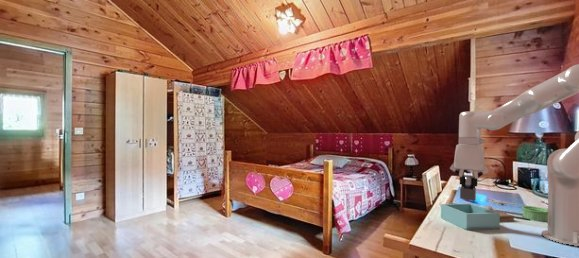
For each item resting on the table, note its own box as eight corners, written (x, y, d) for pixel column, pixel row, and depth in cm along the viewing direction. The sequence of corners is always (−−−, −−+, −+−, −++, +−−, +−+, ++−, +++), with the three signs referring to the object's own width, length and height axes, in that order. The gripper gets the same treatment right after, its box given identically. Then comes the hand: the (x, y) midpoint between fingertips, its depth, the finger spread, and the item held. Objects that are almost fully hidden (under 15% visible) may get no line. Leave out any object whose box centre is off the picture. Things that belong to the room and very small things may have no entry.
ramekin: (517, 217, 120) (517, 207, 120) (529, 214, 123) (529, 205, 123) (542, 223, 112) (543, 212, 112) (554, 220, 115) (554, 210, 115)
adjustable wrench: (553, 212, 129) (553, 209, 129) (552, 215, 125) (552, 211, 125) (489, 201, 148) (489, 198, 147) (486, 203, 143) (486, 200, 143)
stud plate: (513, 220, 114) (513, 209, 114) (488, 221, 112) (488, 210, 112) (489, 212, 126) (489, 202, 126) (465, 212, 124) (465, 202, 124)
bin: (499, 228, 104) (499, 213, 104) (466, 230, 102) (466, 214, 102) (470, 217, 118) (470, 203, 118) (440, 218, 116) (440, 204, 116)
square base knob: (475, 198, 110) (476, 175, 110) (475, 200, 106) (475, 177, 106) (461, 196, 113) (461, 174, 113) (460, 198, 109) (460, 175, 110)
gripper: (494, 142, 108) (493, 188, 108) (447, 140, 118) (446, 183, 118) (494, 143, 102) (493, 192, 102) (445, 141, 112) (443, 185, 112)
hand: (468, 186), depth 110 cm, fingers closed on square base knob, 3 cm apart
